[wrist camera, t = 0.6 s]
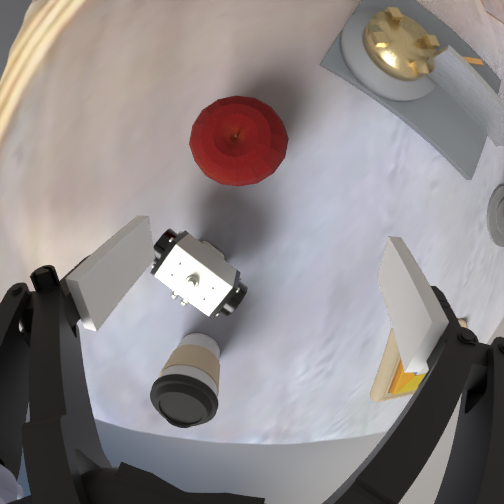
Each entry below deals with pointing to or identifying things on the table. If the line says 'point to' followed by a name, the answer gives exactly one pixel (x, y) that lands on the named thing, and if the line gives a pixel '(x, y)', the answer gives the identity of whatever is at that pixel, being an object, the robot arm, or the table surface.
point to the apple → (238, 141)
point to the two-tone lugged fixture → (432, 67)
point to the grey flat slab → (415, 84)
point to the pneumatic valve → (197, 273)
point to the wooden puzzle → (396, 373)
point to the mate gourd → (496, 216)
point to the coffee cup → (189, 382)
